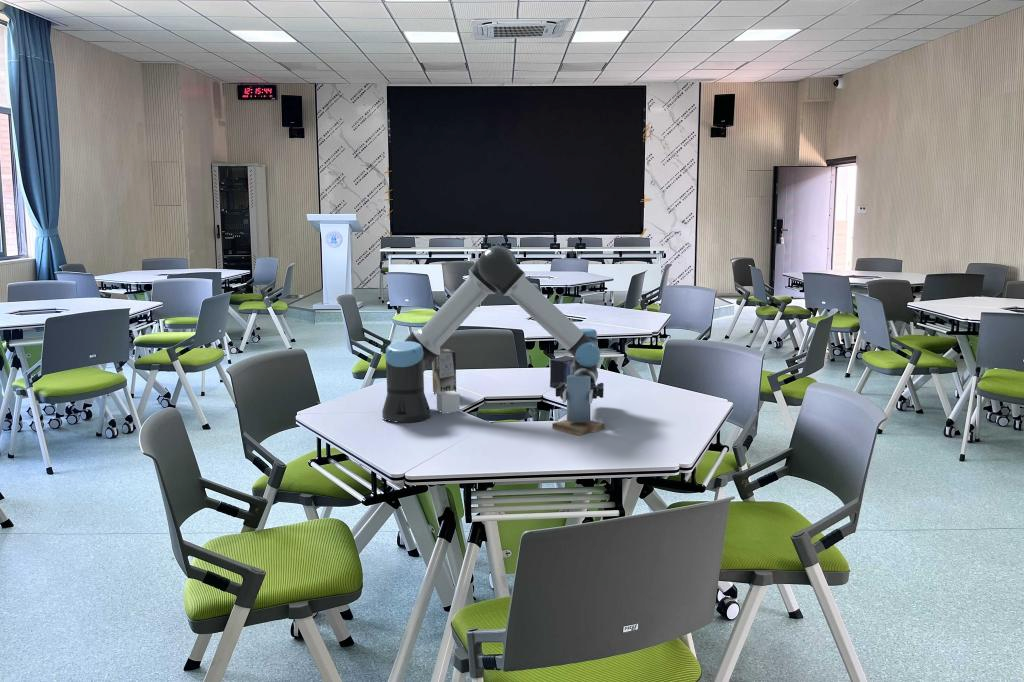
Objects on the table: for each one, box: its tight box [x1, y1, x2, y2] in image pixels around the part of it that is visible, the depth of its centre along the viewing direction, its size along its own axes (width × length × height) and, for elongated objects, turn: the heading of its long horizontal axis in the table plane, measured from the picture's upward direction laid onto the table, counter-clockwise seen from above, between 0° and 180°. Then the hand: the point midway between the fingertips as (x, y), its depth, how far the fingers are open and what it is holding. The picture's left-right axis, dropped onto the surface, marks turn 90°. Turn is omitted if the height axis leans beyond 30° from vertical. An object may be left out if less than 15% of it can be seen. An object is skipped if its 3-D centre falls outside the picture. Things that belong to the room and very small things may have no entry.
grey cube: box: [436, 391, 461, 414], centre depth 266 cm, size 6×6×6 cm
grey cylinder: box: [566, 374, 591, 422], centre depth 240 cm, size 7×7×13 cm
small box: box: [549, 355, 574, 389], centre depth 302 cm, size 11×6×10 cm, turn 143°
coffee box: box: [431, 348, 457, 395], centre depth 288 cm, size 9×6×16 cm
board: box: [551, 419, 606, 436], centre depth 242 cm, size 11×11×2 cm
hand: (577, 398), depth 235 cm, fingers closed on grey cylinder, 7 cm apart
